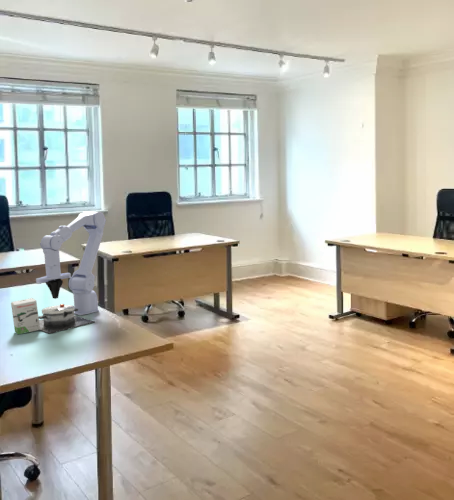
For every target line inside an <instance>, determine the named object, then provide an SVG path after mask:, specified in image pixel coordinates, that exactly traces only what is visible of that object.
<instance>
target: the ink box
mask: <svg viewBox="0 0 454 500" xmlns="http://www.w3.org/2000/svg"><path fill="white" fill-rule="evenodd" d="M10 305H11V313H12V320H13V326H14V327H13V328H14V333H15V334H17V335H22V334H26V333H32V332H36V331H39V330H40V325H39V320H40V319H39V311H38V304H37V300H36V299H35V298H32V297H31V298H28V299H27V298H25V299H21V300H15V301H11V303H10Z"/></svg>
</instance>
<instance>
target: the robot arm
mask: <svg viewBox="0 0 454 500" xmlns="http://www.w3.org/2000/svg"><path fill="white" fill-rule="evenodd" d="M106 222H107V219H106V216H105V213H104V212H103V211H85V210H84V211H81V213H79V214H78V216H77V217H76V218H74V219H73V220H72V221H71V222H70V223H68V224H67V225H59V226H58V228H57V229H55V230H54V231H51V232H50V234H49V235H47V234H46V235H44V236H43V237H42V238H41V240H40V243H39V245H40V248H41V249H42V252H43V255H44V256H43V257H44V266H45V267H44V268H45V275H44V276H41V277H37V278H35V283H36V284H37V285H40V284H42V283H43V284H44V283H45V284H46V286H47V287H48V290H49V292H50V294H51V296H52V299H55V300H56V299H59V293H60V290H61V287H62V285H63V283H64V281H63V280H64V279H69V280H68V287H69V290H71V293H72V294H73V306H74V307H75V308H77V309H78V311H75V312H74V315H76V316H84V315H87V314H93V313H97V312H100V310H99V304H98V301H99V300H98V295H97V292H96V291H95V290H94V288H95V279H96V276H95V274H93V268H94V265H95V262H96V259H97V255H98V252H99V250H100V245H101V242H102V239H103V237H104V229H105V225H106ZM82 227H83V228H84V230H85V231H86V232H87V233H88V235H89V236H88V239H87V242H86V246H85V248H84V251H83V255H82V258H81V260H80V263H79V268H78V269H76V270H75V271H74V272H73V273H72V274H71V273H70V272H64V273H62V271H61V270H62V269H61V260H60V259H61V258H60V249H61V248H62V245H63V243H64V242H66V241H68V240H69V239H71V238H72V236H73V233H74V232H75V231H78V230H79V229H81V228H82Z"/></svg>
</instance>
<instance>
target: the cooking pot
mask: <svg viewBox="0 0 454 500" xmlns="http://www.w3.org/2000/svg"><path fill="white" fill-rule="evenodd" d="M75 311H78V309H77V308H75V310H74V311H72V314H69V315H67V314H59V315H45V314H42V315H40V316H39V315H38V317H39V325H40V330H38V331H40V332H42V333H46V334H49V335H50V334H56V333H57V332H58V333H59V332H62V331H67V330H70V329H75V328H79V327H82V326H86V325H90V324H94V323H95V320H91V319H88V318H84V317H81V316H79V315H76V314H74V312H75Z"/></svg>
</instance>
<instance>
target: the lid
mask: <svg viewBox="0 0 454 500" xmlns="http://www.w3.org/2000/svg"><path fill="white" fill-rule="evenodd" d="M74 310H75V307H74V305H71V304H64V303H60V304H58V305H53V306H48V307H45V308H42V309H41V314H42V315H43V314H45V315H59V314H67V315H69V314H72V311H74Z"/></svg>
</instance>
